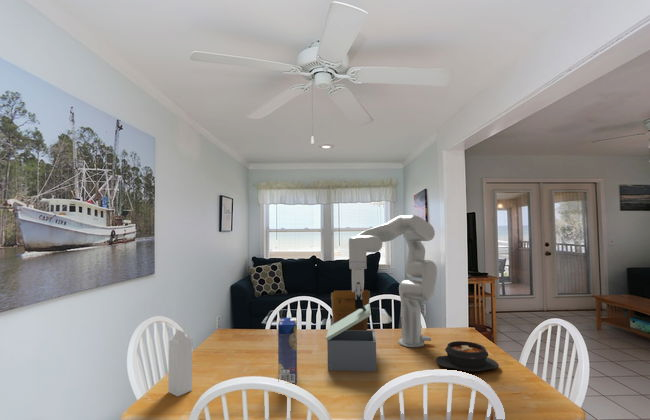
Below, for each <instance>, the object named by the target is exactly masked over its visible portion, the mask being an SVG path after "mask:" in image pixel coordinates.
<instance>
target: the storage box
mask: <svg viewBox="0 0 650 420" xmlns="http://www.w3.org/2000/svg"><path fill="white" fill-rule="evenodd" d="M376 340H377V339H376V331H375V330H374V329H373V330H372V329H367V330H345V331H343V332H341V333H340V334H338V335H336V336H335V337H333V338H331V339H329V340H328V341H327V340H326V342H327V344H326V346H327V371H343V372H344V371H345V372H346V371H347V372H375V373H376V372H377V341H376Z"/></svg>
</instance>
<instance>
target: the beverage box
mask: <svg viewBox="0 0 650 420" xmlns="http://www.w3.org/2000/svg"><path fill="white" fill-rule="evenodd" d="M297 322H298V317H280V318H279V320H278V324H277V331H278V332H277V341H278V342H277V343H278V344H277V345H278V347H277V348H278V350H277V353H278V358H277V359H278V360H277V361H278V362H277V363H278V380H279V379H280V380H284V381H287V382H290V383H289V384H297V380H298V379H297V378H298V332H297V331H298V326H297V325H298V323H297Z"/></svg>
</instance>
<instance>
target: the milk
mask: <svg viewBox="0 0 650 420" xmlns="http://www.w3.org/2000/svg"><path fill="white" fill-rule="evenodd" d="M167 367H168V368H167V369H168V374H167V376H168V377H167V379H168V380H167V381H168V387H167V389H168V393H169V394H172V395H174V396H175V397H177V398H178V397H179V396H182V395H184V394H187V393H189V392H191V391H193V338H192V337H189V336H186V332H185V331H184V330H180V329H176V330H175V334H173V335H172V336H171V337H170V338H169V339H168V366H167Z"/></svg>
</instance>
